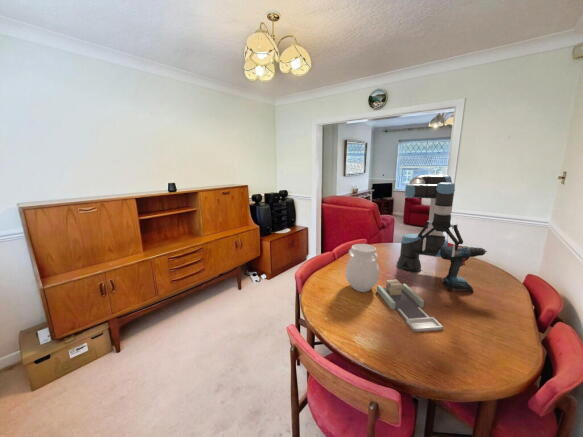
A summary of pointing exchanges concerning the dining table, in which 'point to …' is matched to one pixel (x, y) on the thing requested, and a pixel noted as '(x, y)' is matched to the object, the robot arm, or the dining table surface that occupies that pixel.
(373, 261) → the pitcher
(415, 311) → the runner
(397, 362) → the dining table surface
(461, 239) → the robot arm
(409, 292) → the channel
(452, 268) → the power drill
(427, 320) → the tray
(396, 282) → the block
